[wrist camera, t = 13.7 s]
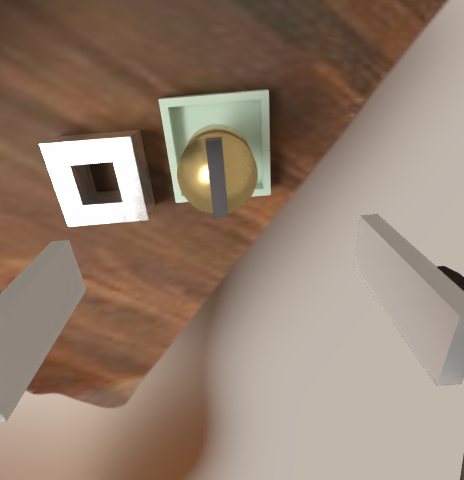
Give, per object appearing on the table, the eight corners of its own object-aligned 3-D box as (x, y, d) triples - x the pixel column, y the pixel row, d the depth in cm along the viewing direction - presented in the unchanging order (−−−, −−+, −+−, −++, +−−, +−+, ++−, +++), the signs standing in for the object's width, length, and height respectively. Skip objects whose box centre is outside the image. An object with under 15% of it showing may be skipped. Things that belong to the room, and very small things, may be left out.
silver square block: (59, 136, 35) (39, 144, 31) (140, 129, 35) (130, 136, 31) (83, 211, 39) (68, 226, 35) (155, 205, 39) (148, 220, 35)
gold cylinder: (193, 177, 37) (181, 222, 26) (186, 119, 34) (168, 141, 23) (248, 172, 37) (260, 216, 26) (244, 114, 34) (257, 133, 23)
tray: (162, 97, 34) (158, 99, 32) (265, 88, 34) (268, 90, 32) (178, 195, 39) (175, 202, 37) (267, 188, 39) (270, 194, 37)
